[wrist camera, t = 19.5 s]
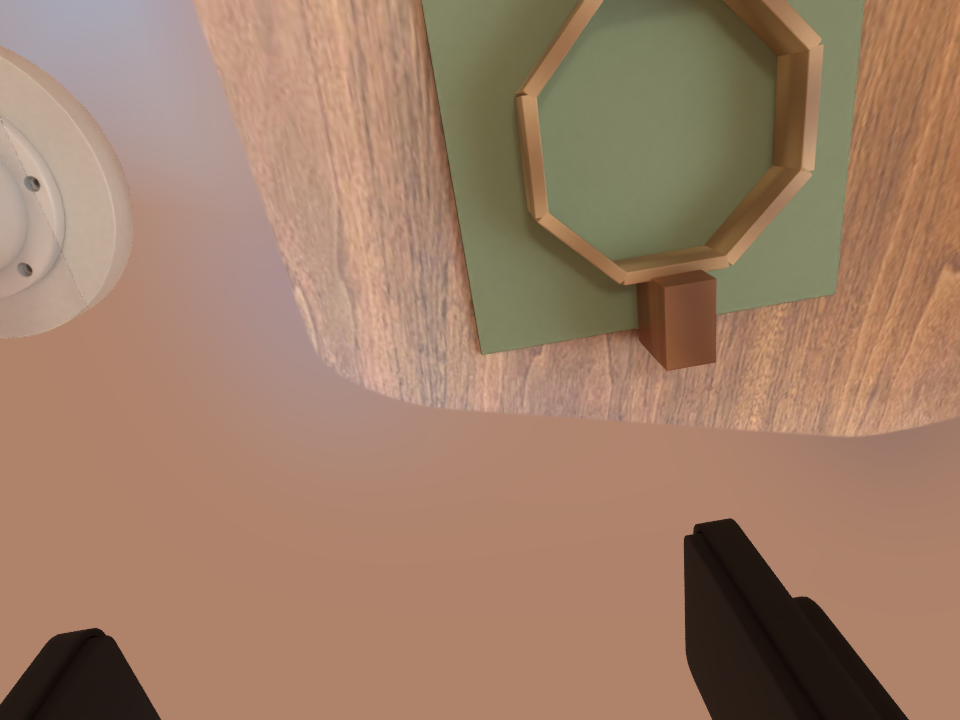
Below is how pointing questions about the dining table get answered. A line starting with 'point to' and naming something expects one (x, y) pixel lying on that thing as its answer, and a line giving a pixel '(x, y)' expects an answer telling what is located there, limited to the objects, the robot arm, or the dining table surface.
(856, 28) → the mat
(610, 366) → the dining table surface
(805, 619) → the robot arm
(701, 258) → the hoop
